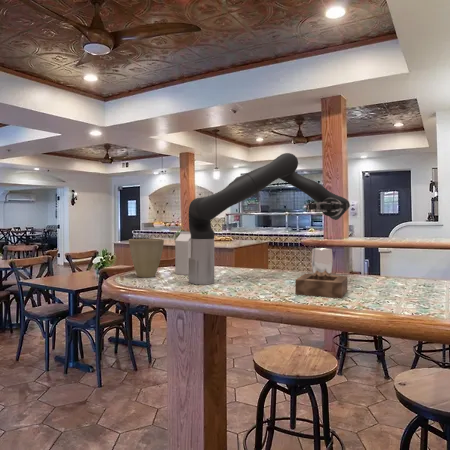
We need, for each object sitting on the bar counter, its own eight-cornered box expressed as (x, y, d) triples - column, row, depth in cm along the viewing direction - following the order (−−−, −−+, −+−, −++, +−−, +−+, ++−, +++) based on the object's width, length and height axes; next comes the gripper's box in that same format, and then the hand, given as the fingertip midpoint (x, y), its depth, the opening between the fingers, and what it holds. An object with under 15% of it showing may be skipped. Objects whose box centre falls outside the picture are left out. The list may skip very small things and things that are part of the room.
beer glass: (332, 291, 138) (333, 248, 137) (331, 294, 131) (332, 249, 131) (312, 289, 140) (312, 247, 139) (310, 293, 133) (310, 249, 133)
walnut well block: (295, 294, 131) (295, 279, 131) (305, 287, 145) (305, 273, 145) (341, 298, 125) (341, 282, 125) (347, 290, 139) (347, 276, 139)
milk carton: (187, 275, 172) (187, 232, 171) (175, 274, 175) (175, 231, 175) (197, 273, 178) (197, 231, 177) (184, 272, 181) (185, 231, 181)
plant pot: (160, 279, 161) (160, 240, 161) (124, 279, 161) (124, 240, 161) (166, 273, 176) (166, 238, 176) (133, 273, 176) (133, 238, 176)
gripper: (314, 198, 163) (305, 196, 148) (350, 197, 157) (345, 195, 142) (314, 216, 163) (305, 216, 148) (350, 216, 157) (344, 216, 142)
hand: (324, 206), depth 145 cm, fingers open, 8 cm apart
